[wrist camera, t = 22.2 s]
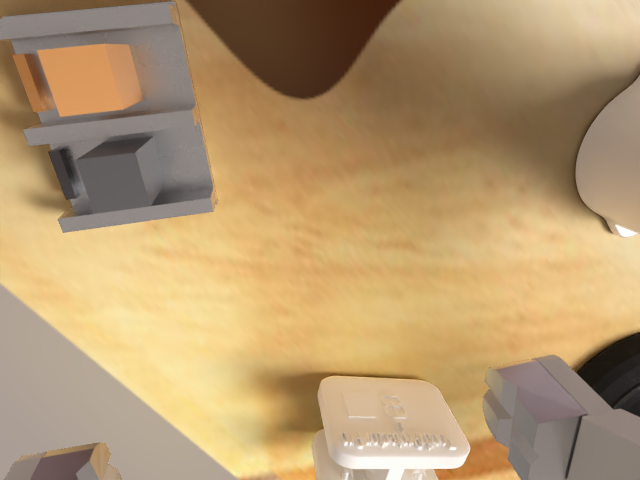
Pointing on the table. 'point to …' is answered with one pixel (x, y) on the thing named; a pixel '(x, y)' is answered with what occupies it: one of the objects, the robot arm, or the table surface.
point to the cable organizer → (385, 430)
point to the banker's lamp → (617, 375)
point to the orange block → (91, 78)
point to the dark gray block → (121, 174)
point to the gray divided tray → (130, 123)
